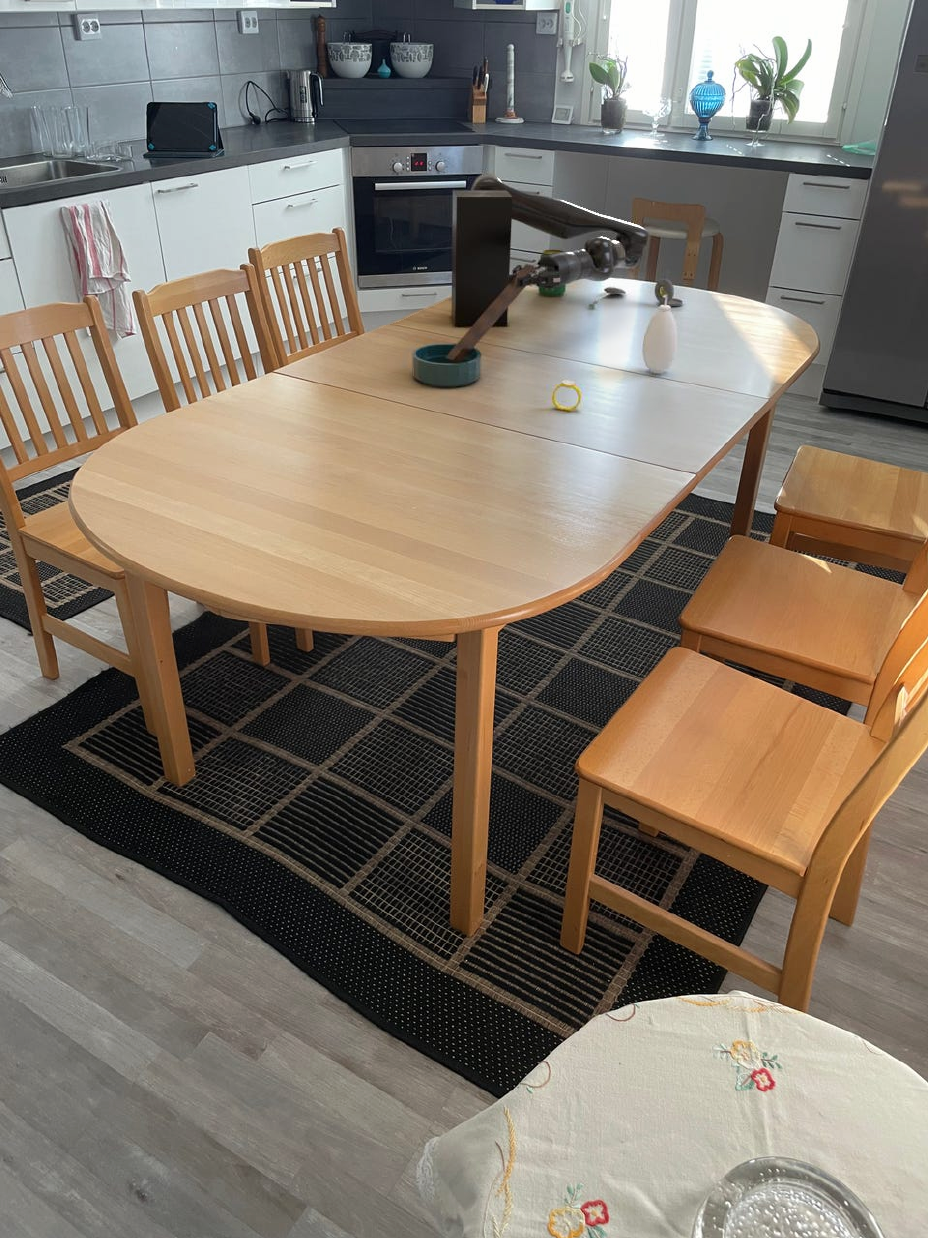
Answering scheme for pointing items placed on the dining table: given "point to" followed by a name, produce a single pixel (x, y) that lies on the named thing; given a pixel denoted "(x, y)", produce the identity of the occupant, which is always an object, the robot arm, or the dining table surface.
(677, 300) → the pocket watch
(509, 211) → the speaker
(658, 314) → the sauce bottle
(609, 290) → the soupspoon
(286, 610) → the dining table surface
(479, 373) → the bowl
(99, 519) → the dining table surface
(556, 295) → the beverage can
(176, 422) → the dining table surface
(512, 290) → the stick
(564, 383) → the gold diamond ring
